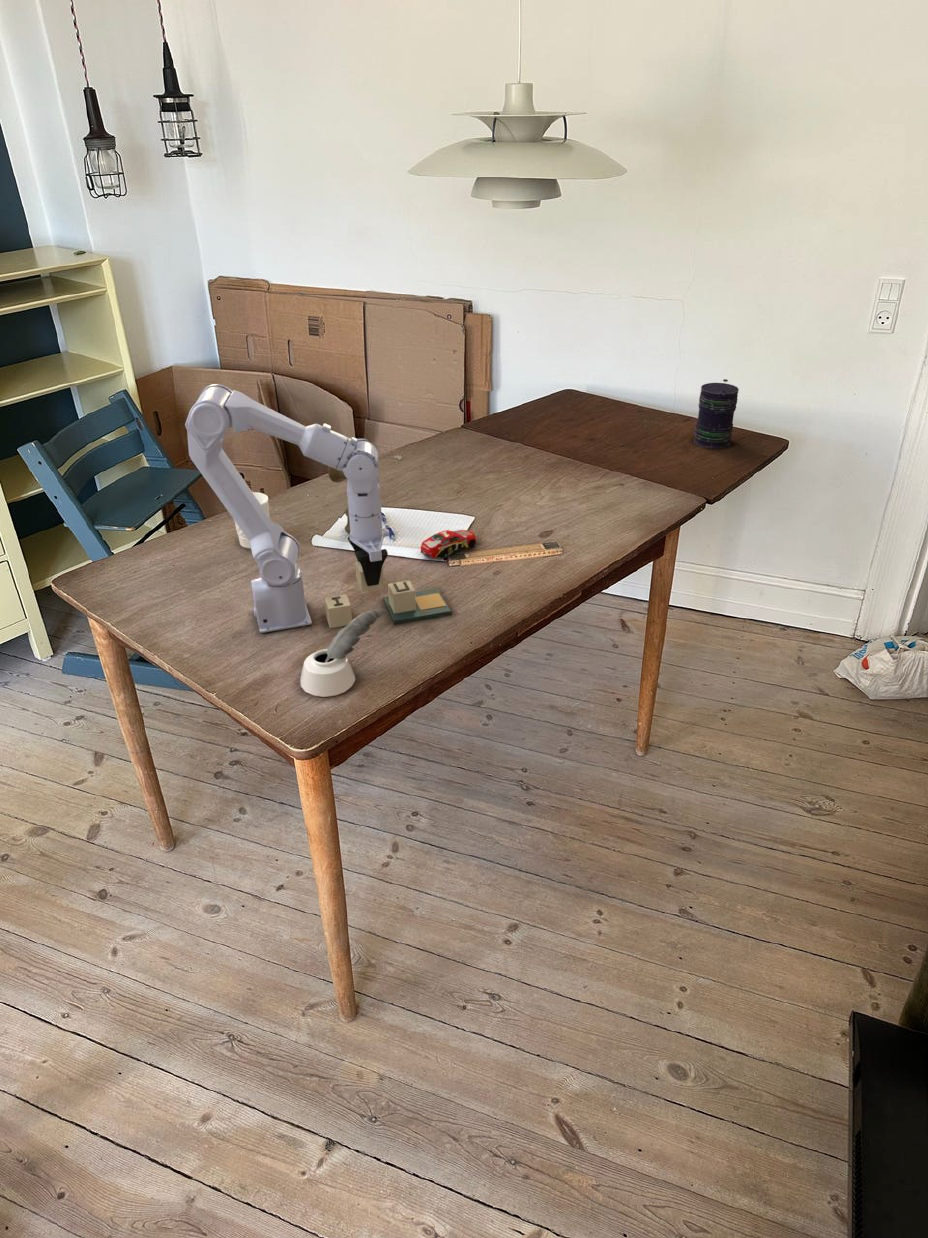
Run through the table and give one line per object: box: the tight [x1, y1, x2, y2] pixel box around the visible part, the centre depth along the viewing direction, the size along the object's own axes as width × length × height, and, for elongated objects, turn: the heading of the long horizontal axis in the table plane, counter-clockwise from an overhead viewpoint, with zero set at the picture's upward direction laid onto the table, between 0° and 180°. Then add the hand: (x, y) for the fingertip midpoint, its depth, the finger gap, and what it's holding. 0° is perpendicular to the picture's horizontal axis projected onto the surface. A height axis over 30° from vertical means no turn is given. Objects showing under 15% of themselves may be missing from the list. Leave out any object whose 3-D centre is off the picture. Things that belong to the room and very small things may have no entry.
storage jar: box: [693, 378, 740, 449], centre depth 237 cm, size 10×10×18 cm
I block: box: [323, 594, 353, 629], centre depth 163 cm, size 4×4×4 cm
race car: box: [420, 529, 477, 559], centre depth 188 cm, size 13×5×4 cm, turn 127°
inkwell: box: [299, 608, 389, 698], centre depth 148 cm, size 9×18×10 cm, turn 135°
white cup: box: [233, 491, 271, 550], centre depth 190 cm, size 8×8×10 cm
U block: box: [387, 580, 416, 614], centre depth 166 cm, size 4×4×4 cm
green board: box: [382, 588, 452, 625], centre depth 168 cm, size 11×9×1 cm
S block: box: [354, 561, 385, 593], centre depth 161 cm, size 4×4×4 cm
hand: (369, 578), depth 162 cm, fingers closed on S block, 4 cm apart
